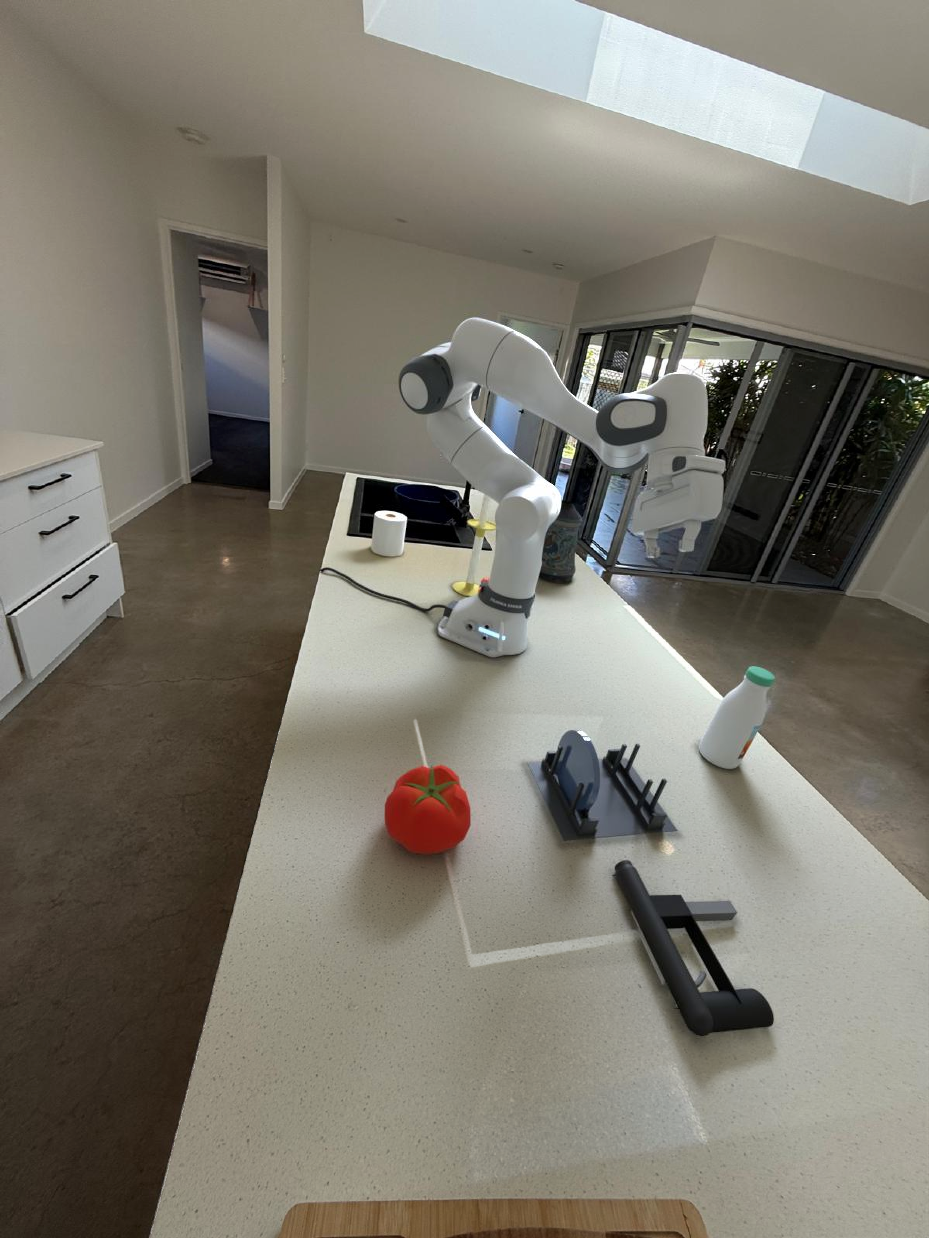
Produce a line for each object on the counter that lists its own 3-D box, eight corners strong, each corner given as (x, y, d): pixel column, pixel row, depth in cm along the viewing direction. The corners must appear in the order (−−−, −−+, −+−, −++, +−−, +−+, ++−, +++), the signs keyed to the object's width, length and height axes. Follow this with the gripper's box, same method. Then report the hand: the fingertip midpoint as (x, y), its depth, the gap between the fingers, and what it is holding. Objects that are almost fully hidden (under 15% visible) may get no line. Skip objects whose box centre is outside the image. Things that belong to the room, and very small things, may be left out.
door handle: (707, 858, 74) (610, 858, 70) (812, 1017, 57) (691, 1029, 52) (697, 873, 75) (601, 874, 71) (796, 1032, 58) (678, 1045, 54)
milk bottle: (721, 774, 96) (769, 687, 87) (689, 746, 102) (730, 663, 93) (746, 765, 99) (794, 681, 90) (714, 739, 105) (756, 658, 96)
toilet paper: (366, 552, 163) (370, 516, 157) (377, 543, 172) (380, 508, 167) (397, 559, 162) (401, 523, 157) (405, 549, 171) (410, 515, 166)
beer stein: (576, 587, 169) (599, 514, 158) (520, 577, 168) (538, 503, 157) (568, 568, 184) (588, 501, 173) (516, 559, 183) (532, 491, 171)
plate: (549, 769, 87) (568, 714, 82) (554, 769, 87) (574, 714, 82) (579, 827, 77) (603, 768, 72) (585, 827, 77) (609, 768, 72)
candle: (468, 580, 157) (493, 457, 141) (492, 593, 152) (520, 467, 135) (445, 585, 151) (468, 457, 134) (468, 599, 145) (495, 467, 128)
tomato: (435, 887, 65) (446, 842, 61) (362, 833, 70) (368, 789, 66) (484, 825, 75) (496, 783, 71) (417, 782, 80) (425, 741, 76)
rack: (525, 765, 88) (536, 730, 85) (625, 761, 94) (639, 728, 90) (562, 844, 75) (577, 806, 71) (675, 833, 80) (694, 798, 77)
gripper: (626, 485, 96) (620, 558, 96) (697, 452, 76) (689, 545, 76) (656, 490, 97) (650, 562, 97) (733, 458, 77) (726, 549, 77)
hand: (668, 554), depth 86 cm, fingers open, 8 cm apart
